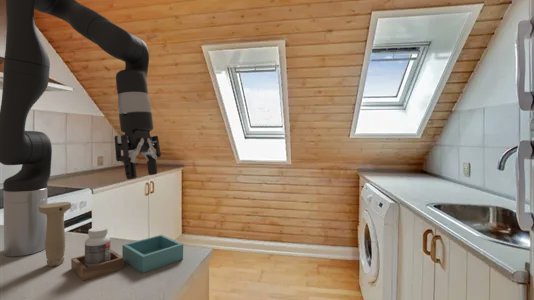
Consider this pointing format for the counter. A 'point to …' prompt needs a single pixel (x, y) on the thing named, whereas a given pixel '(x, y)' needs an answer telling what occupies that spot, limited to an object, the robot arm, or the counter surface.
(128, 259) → the tray
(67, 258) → the counter surface
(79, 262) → the brown open box
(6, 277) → the counter surface
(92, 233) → the pill bottle
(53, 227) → the handle
